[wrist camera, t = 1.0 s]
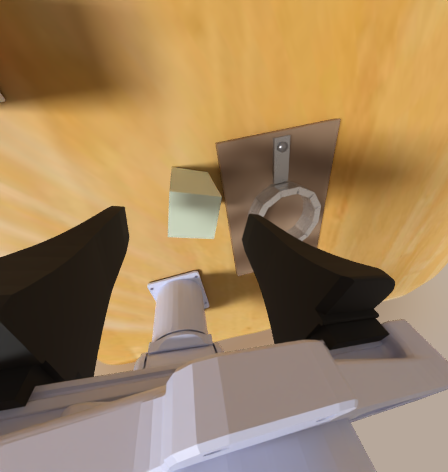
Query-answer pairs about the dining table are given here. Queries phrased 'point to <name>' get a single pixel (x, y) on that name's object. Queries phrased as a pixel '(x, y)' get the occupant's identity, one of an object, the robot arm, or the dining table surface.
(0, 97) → the skincare box
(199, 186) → the sage peg
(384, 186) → the dining table surface
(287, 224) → the cup bracket
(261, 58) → the dining table surface
